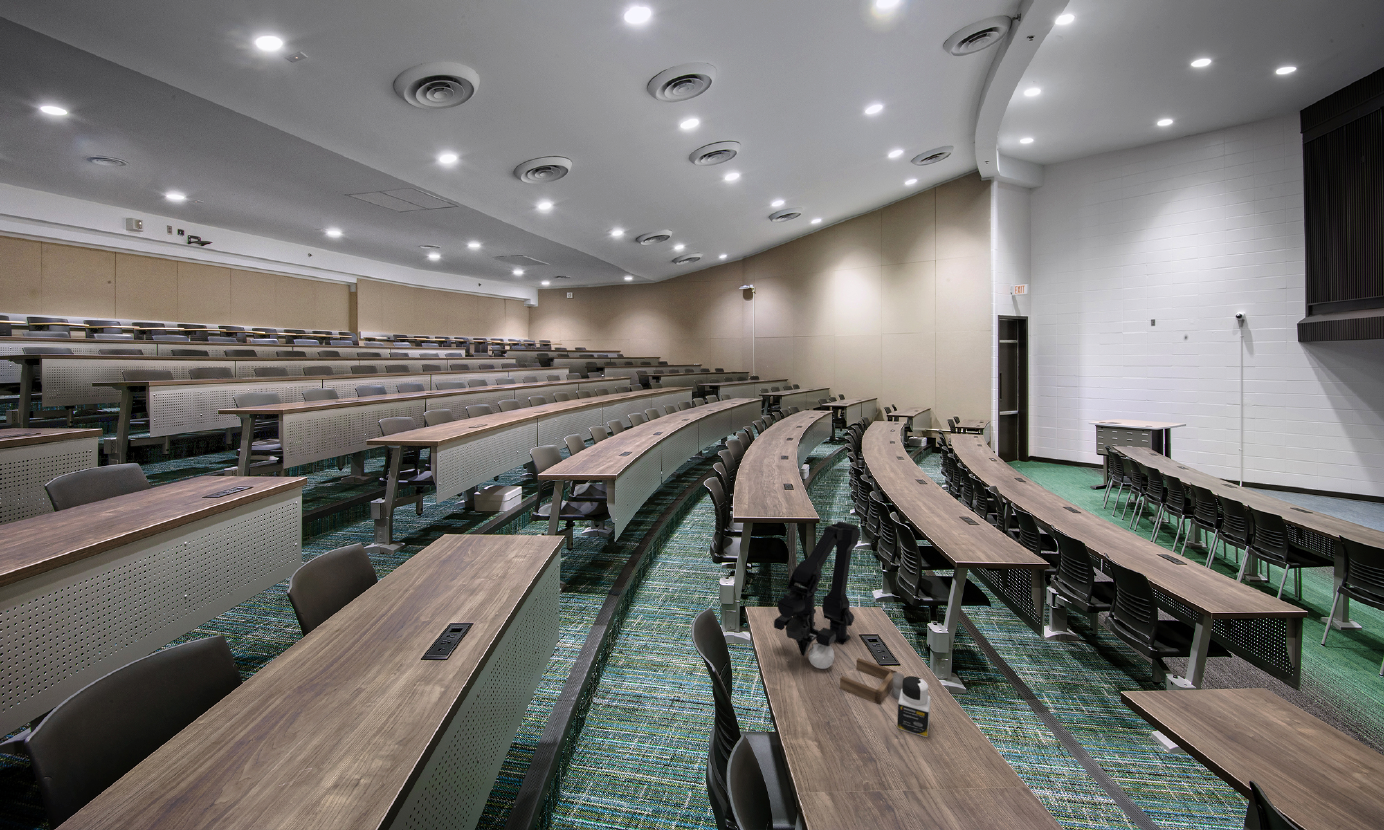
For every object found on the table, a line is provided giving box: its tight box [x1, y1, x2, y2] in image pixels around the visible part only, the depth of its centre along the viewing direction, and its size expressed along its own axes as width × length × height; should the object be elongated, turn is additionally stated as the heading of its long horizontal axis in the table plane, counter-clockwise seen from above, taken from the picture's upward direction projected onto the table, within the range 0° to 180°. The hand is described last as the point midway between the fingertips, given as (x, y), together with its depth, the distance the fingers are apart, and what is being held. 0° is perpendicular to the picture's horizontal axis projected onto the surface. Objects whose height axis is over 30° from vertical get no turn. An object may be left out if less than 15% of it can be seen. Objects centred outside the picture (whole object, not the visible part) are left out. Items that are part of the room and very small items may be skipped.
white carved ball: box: [808, 642, 835, 670], centre depth 161 cm, size 8×8×8 cm
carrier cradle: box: [839, 657, 905, 705], centre depth 151 cm, size 14×16×6 cm
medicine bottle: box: [896, 675, 932, 738], centre depth 135 cm, size 7×7×12 cm
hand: (803, 655), depth 165 cm, fingers closed
